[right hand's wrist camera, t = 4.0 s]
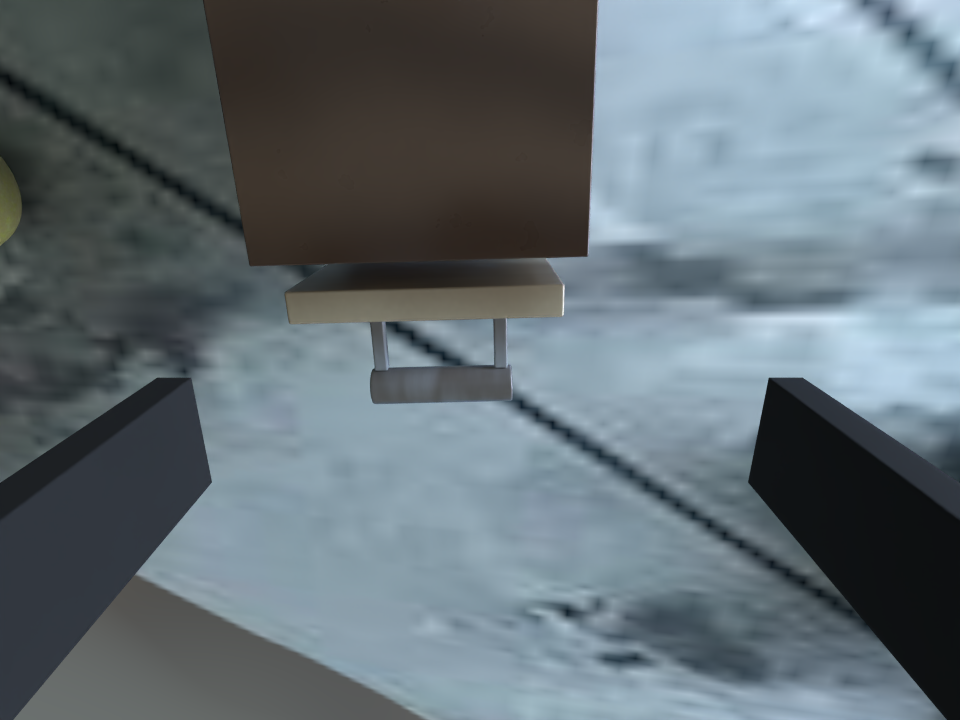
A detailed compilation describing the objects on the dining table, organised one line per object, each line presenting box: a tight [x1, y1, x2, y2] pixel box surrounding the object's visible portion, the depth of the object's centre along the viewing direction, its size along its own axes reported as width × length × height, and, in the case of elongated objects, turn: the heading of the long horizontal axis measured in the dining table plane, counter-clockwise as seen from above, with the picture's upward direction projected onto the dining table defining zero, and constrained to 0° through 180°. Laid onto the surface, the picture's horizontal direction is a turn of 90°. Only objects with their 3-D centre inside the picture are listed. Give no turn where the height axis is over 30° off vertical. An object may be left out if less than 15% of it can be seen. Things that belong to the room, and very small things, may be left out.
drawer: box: [285, 258, 564, 404], centre depth 21 cm, size 26×10×10 cm, turn 2°
